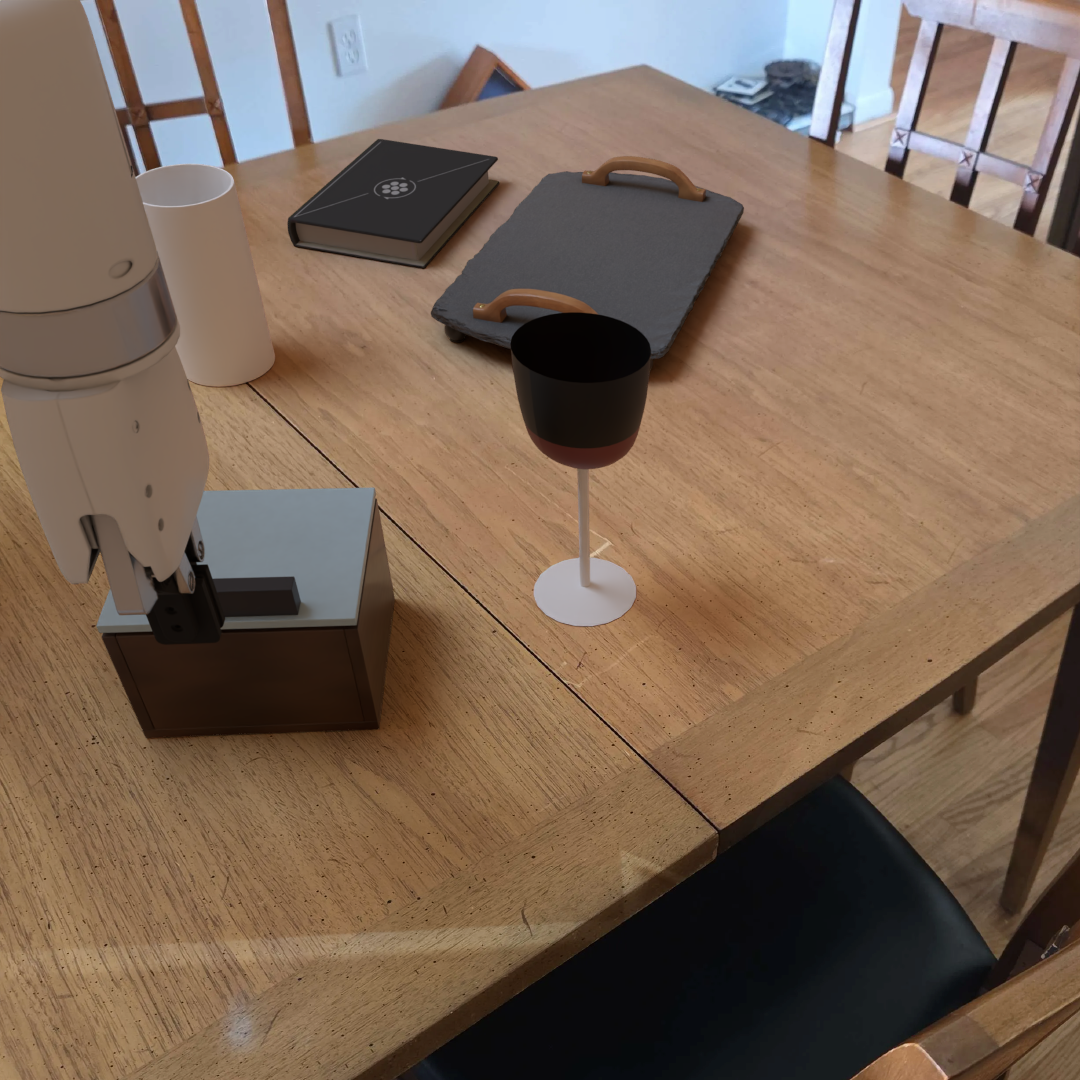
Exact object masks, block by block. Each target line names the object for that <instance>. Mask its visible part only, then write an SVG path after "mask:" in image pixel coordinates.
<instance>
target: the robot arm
mask: <svg viewBox="0 0 1080 1080" xmlns="http://www.w3.org/2000/svg"><path fill="white" fill-rule="evenodd" d="M81 1H82V0H0V378H1V379H3V380H2V385H1V388H0V392H1V396H2V402H3V406H4V411H5V416H6V420H7V424H8V428H9V432H10V436H11V440H12V445H13V448H14V451H15V454H16V457H17V461H18V464H19V467H20V470H21V474H22V476H23V479H24V482H25V484H26V487H27V490H28V493H29V495H30V498H31V502H32V505H33V507H34V510H35V513H36V515H37V517H38V520H39V523H40V525H41V528H42V531H43V533H44V536H45V538H46V540H47V543H48V546H49V549H50V551H51V553H52V556H53V558H54V560H55V563H56V565H57V567H58V569H59V571H60V573H61V575H62V576H63V578H64V579H65V580H66V581H67V582H68V583H70V585H80V584H85V585H88V583H89V581H90V578H91V576H92V573H93V571H94V569H95V566H96V564H97V561H98V559H99V555H100V556H101V559H102V563H103V566H104V570H105V574H106V577H107V581H108V585H109V589H110V588H111V592H112V596H113V599H114V603H115V607H116V610H117V613H118V614H119V615H144V614H146V617H147V619H148V622H149V624H150V627H151V629H152V632H153V634H154V637H155V639H156V641H157V642H158V643H160V644H164V645H170V644H199V643H216V642H218V641H219V640H220V636H221V633H222V631H221V628H222V627H223V625H224V621H225V615H224V612H223V609H222V606H221V603H220V600H219V597H218V594H217V591H216V588H215V585H214V582H213V579H212V576H211V573H210V570H209V567H208V564H203V565H197V563H196V562H203V561H204V558H205V547H204V543H203V539H202V535H201V531H200V527H199V523H198V520H197V516H196V515H197V511H198V508H199V505H200V502H201V499H202V495H203V492H204V491H205V488H206V485H207V481H208V477H209V472H210V453H209V446H208V442H207V437H206V434H205V433H206V432H205V429H204V426H203V423H202V419H201V415H200V412H199V409H198V406H197V403H196V400H195V397H194V394H193V391H192V388H191V385H190V382H189V380H188V379H187V376H186V374H185V371H184V368H183V365H182V363H181V360H180V357H179V355H178V352H177V350H176V347H175V346H176V344H177V342H178V339H179V337H180V325H179V322H178V319H177V316H176V313H175V309H174V305H173V302H172V299H171V295H170V292H169V289H168V285H167V282H166V279H165V275H164V272H163V269H162V265H161V262H160V258H159V255H158V252H157V249H156V245H155V242H154V238H153V235H152V232H151V228H150V225H149V221H148V218H147V215H146V211H145V208H144V205H143V201H142V198H141V195H140V191H139V188H138V184H137V181H136V178H135V177H136V175H135V170H134V168H133V166H132V161H131V157H130V154H129V152H128V151H129V150H128V148H127V144H126V141H125V138H124V134H123V131H122V127H121V125H120V121H119V118H118V114H117V110H116V107H115V104H114V102H113V97H112V94H111V91H110V87H109V84H108V81H107V77H106V74H105V71H104V67H103V63H102V60H101V58H100V53H99V50H98V47H97V44H96V40H95V38H94V33H93V30H92V27H91V24H90V21H89V18H88V15H87V12H86V10H85V7H84V5H83V3H82V2H81Z"/></svg>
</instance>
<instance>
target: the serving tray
mask: <svg viewBox="0 0 1080 1080" xmlns="http://www.w3.org/2000/svg"><path fill="white" fill-rule="evenodd" d="M616 171H633V172H641V173H648V174H652V175H656V177H655V176H649V175H646V174H633V173H618V172H616ZM657 176H659V177H657ZM744 212H745V207H744V204H742V203H741V202H739V201H738V200H736V199H735V198H732V197H731V196H728V195H723V194H721V193H719V192H714V191H711V190H710V189H706V188H703V187H700V186H697V185H695V184H694V183H693V182H692V180H690V178H689V177H688V176H687V175H686V174H685V172H684V171H682V169H680V168H679V167H677V166H676V165H673V164H672V163H668V162H666V161H663V160H659V159H655V158H650V157H643V156H636V155H635V156H634V155H633V156H632V155H621V156H614V157H611V158H610V159H608V160H606V161H604V162H603V163H602V164H601V165H600V166H599V167H598V168H596V169H595V170H587V169H585V170H584V171H559V172H555V173H548V174H546V175H545V176H544V177H542V178H541V180H540V181H539V183H537V185H535V186H534V187H533V189H532V191H530V193H528V194H527V195H526V196H525V198H524V199H523V200H521V201H520V202H519V203H518V205H517V206H516V207H515V208H514V210H513V212H512V214H511V215H510V216H509V218H508V219H507V220H506V221H505V222H504V223H503V224H501V225H500V226H499V227H497V228H496V230H495V231H494V232H493V233H492V234H491V235H490V236H489V238H488V240H487V241H486V242H485V243H484V244H483V246H482V248H481V249H480V250H479V251H478V252H477V253H476V254H474V255H473V258H470V259H469V260H467V262H466V264H465V265H464V268H463V269H462V270H461V274H459V275H457V276H456V278H455V280H454V282H452V283H451V284H450V285H448V286H447V287H446V288H445V290H444V292H443V293H442V295H441V296H440V297H439V298H438V299H437V300H435V302H434V304H433V306H432V309H431V310H430V316H431V318H433V319H434V320H435V321H437V322H438V323H441V324H442V325H444V333H445V336H446V337H447V338H448V339H449V341H450V342H452V343H462V342H464V340H465V338H466V336H469V337H472V338H474V339H477V340H479V341H481V342H485V343H490V344H494V345H496V346H499V347H502V348H505V349H509V350H511V339H512V336H513V335H514V333H515V332H516V331H517V330H518V328H520V327H521V326H522V325H524V324H525V323H527V322H529V321H531V320H533V319H536V318H539V317H542V316H546V315H550V314H557V313H568V312H581V313H592V314H598V315H604V316H608V317H612V318H615V319H618V320H621V321H623V322H625V323H627V324H629V325H631V326H633V327H634V328H636V329H637V330H639V331H640V332H641V333H642V334H643V335H644V336H645V337H646V338H647V340H648V342H649V343H650V347H651V361H650V371H652V369H653V366H654V360H657V359H661V358H663V357H665V356H666V355H667V353H668V352H669V351H670V349H671V347H672V346H673V344H674V342H675V340H676V338H677V336H678V334H679V333H680V332H681V330H682V328H683V325H684V324H685V321H686V320H687V317H688V316H689V314H690V312H691V311H692V310H693V308H694V305H695V303H696V300H698V298H699V296H700V293H701V292H702V291H703V290H704V288H705V285H706V282H707V281H708V279H709V278H710V277H711V276H712V271H713V270H714V269H715V267H716V265H717V263H718V261H719V259H720V258H721V256H722V254H723V252H724V250H725V248H726V247H727V245H728V242H729V240H730V239H731V237H732V235H733V234H734V231H735V229H736V227H737V226H738V224H739V222H740V220H741V218H742V216H743V215H744Z"/></svg>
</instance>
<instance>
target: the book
mask: <svg viewBox="0 0 1080 1080" xmlns="http://www.w3.org/2000/svg"><path fill="white" fill-rule="evenodd" d="M498 161H499V157H498V156H495V155H488V154H482V153H475V152H468V151H462V150H456V149H450V148H449V149H448V148H442V147H435V146H428V145H424V144H423V145H422V144H418V143H417V144H416V143H409V142H403V141H397V140H390V139H384V138H377V139H376V140H375V141H374V142H373V143H371V144H370V145H369V146H368V147H366V149H364V151H362V152H361V153H360V154H359V155H358V156H356V158H354V159H353V160H352V161H351V162H350V163H349V164H347V166H345V167H344V168H343V169H342V170H341V171H339V172H338V174H337V175H335V176H334V177H333V178H331V180H329V181H328V182H327V183H326V184H325V185H324V186H323V187H321V188H320V189H319V190H318V191H317V192H315V194H314V195H312V196H311V197H310V198H309V199H308V200H307V201H305V202H304V203H303V204H302V205H301V206H300V207H299V208H298V209H297V210H295V211H294V212H293V213H292V214H290V216H289V217H288V218H287V231H288V232H287V233H288V236H289V240H290V241H291V243H292V245H293V247H297V248H302V249H307V250H308V249H309V250H313V251H314V250H315V251H320V252H326V253H332V254H338V255H344V256H349V257H355V258H362V259H368V260H374V261H378V262H384V263H390V264H396V265H402V266H408V267H414V268H420V269H426V267H427V266H429V264H430V263H431V261H433V259H434V258H435V257H436V256H437V255H438V254H439V252H440V251H441V250H442V249H443V248H444V247H445V246H446V245H447V244H448V242H449V241H450V240H451V239H452V238H453V237H454V236H455V234H456V233H457V232H458V231H459V230H460V229H461V228H462V226H463V225H464V224H465V223H466V222H467V221H468V220H469V219H470V217H471V216H472V215H473V214H474V213H475V212H476V211H477V209H479V207H480V206H481V205H482V204H483V203H484V201H485V200H486V199H487V198H488V197H489V196H490V195H491V194H492V193H493V191H494V190H495V189H496V188H497V187H498V186H499V185H500V181H499V180H496V179H490V177H489V171H490V170H491V168H492V167H493V166H494V165H495V164H496V162H498Z"/></svg>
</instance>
